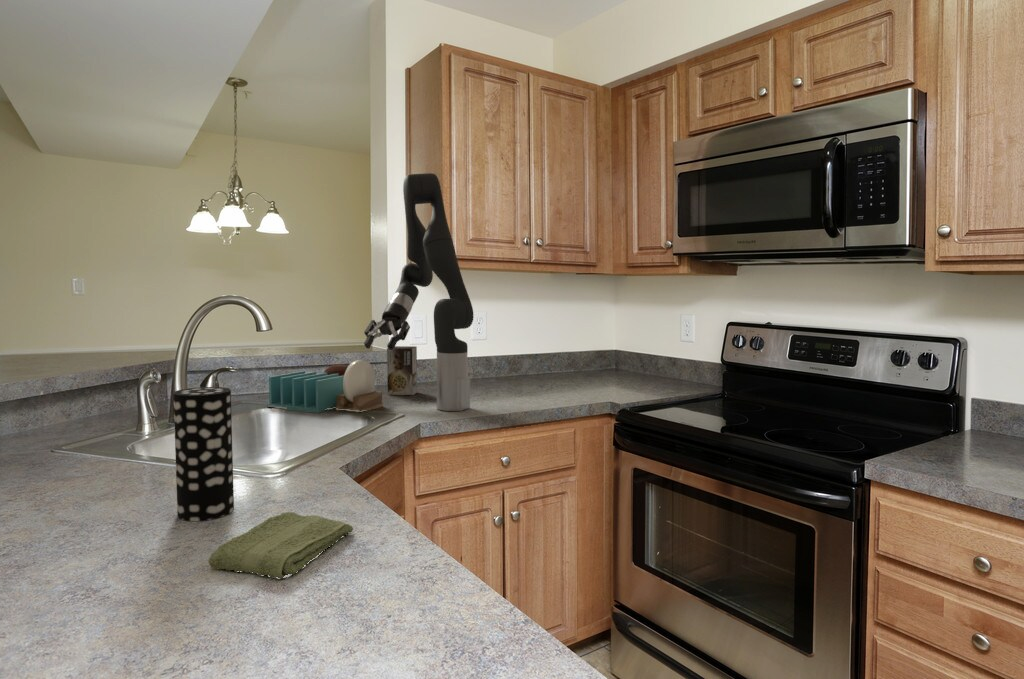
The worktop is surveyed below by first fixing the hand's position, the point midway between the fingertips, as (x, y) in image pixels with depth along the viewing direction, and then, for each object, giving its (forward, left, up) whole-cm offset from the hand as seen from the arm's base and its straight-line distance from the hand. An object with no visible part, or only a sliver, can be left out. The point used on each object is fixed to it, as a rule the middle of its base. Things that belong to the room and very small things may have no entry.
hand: (377, 347), depth 200 cm
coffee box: (+3, -18, -18) cm, 26 cm away
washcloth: (-53, +99, -18) cm, 113 cm away
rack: (+16, +13, -18) cm, 27 cm away
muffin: (+21, -7, -18) cm, 29 cm away
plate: (0, +10, -10) cm, 14 cm away
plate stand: (0, +10, -18) cm, 20 cm away
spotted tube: (-31, +93, -18) cm, 99 cm away
